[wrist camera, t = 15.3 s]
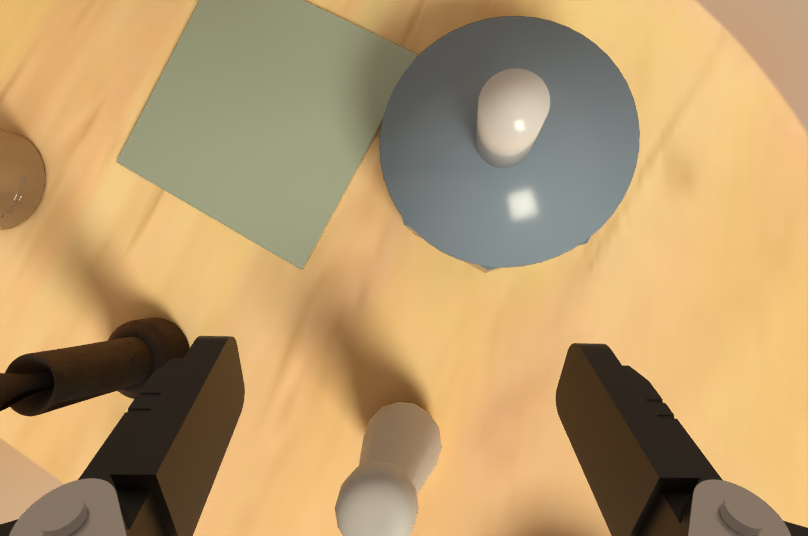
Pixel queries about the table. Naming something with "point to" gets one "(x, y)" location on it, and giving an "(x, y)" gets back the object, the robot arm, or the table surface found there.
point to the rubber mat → (266, 117)
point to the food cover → (509, 142)
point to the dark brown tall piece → (91, 368)
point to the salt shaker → (389, 473)
